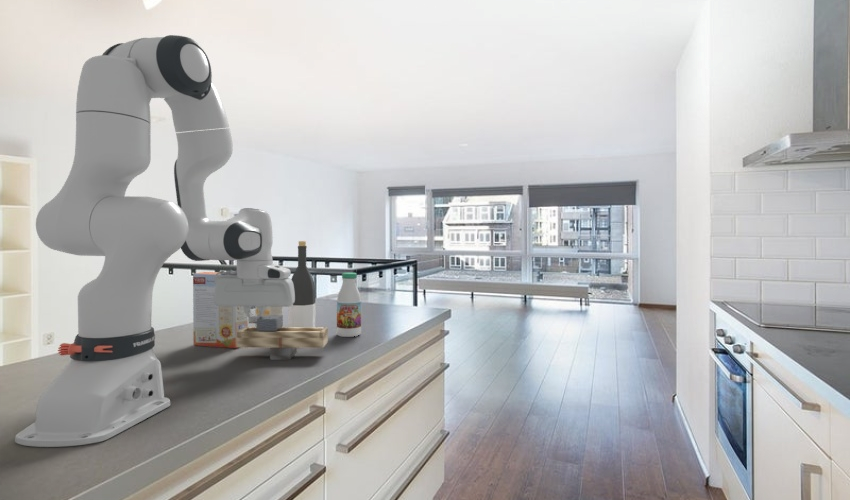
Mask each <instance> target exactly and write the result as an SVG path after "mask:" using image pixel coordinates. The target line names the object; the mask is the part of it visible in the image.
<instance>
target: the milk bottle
mask: <svg viewBox="0 0 850 500" xmlns="http://www.w3.org/2000/svg"><path fill="white" fill-rule="evenodd" d="M357 275H358V274H357V272H342V274H341V280H342V283H341V284H342V285H341V287H340V289H339V292H338V294H337V300H336V335H337V336H338V337H340V338H341V337H342V338H353V337H354V336H355V337H358V335H359V336H361V335H362V298H361V297H362V296H361V293H360V291H359V288H358V286H357V278H358V277H357Z"/></svg>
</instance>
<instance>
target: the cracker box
mask: <svg viewBox="0 0 850 500" xmlns="http://www.w3.org/2000/svg"><path fill="white" fill-rule="evenodd" d="M219 272H220V271H218V272H217V271H202V272H201V271H200V272H196V273H193V274H192V286H193V289H192V297H193V298H192V302H193V305H192V310H193V311H192V313H193V324H192V325H193V333H192V335H193V346H200V347H215V348H225V349H237V348H238V347H237V332H238V331H240V330H241V329H243V328H245V327H249V326H248V324H249V323H248V316H247V315H246V313H245V311H244V306H216V305H215V303H214V292H215V283H214V277H215V275H216V274H217V273H219ZM218 275H220V274H218Z"/></svg>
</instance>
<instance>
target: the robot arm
mask: <svg viewBox="0 0 850 500" xmlns="http://www.w3.org/2000/svg"><path fill="white" fill-rule="evenodd" d="M212 77H213V76H212V66H211V63H210V59H209V57H208V55H207V53H206V52H205V51H204V48H202V46H201V45H199V43H198V42H196V41H195V40H194V39H192V38H191V37H189V36H183V35H175V34H174V35H173V34H171V35H170V34H169V35H166V36H161V37H159V36H156V37H141V38H136V39H133V40H129V41H126V42H121V43H116V44H114V45H112V46H109V47H108V49H106V50H105V51H104V52H103V53H102V54H101V55H96V56H92V57H90V58H88V59H87V60H86V61H85V62H84V64H83V66H82V68H81V72H80V75H79V81H78V86H77V92H76V93H77V94H76V103H75V105H76V106H75V146H74V155H73V156H74V157H73V162H72V166H71V168H70V171H69V173H68V176H67V178H66V179H65V182H64V184H63V186H62V187H61V189H60V190H59V191H58V193H57V194H56V195H55V196H54V197H53V198H52V199H51V200H49V201H48V202H47V203H45V204H44V205H43V206H42V207H40V209H39V211H38V213H37V215H36V218H35V230H36V233H37V236H38V238H39V239H40V241H41V243H42V244H44V245H45V246H46V247H47V248H49V249H51V250H53V251H58V252H61V253H64V254H65V253H66V254H69V255H74V256H80V257H83V256H84V257H85V256H86V257H92V256H93V257H104V263H103V265H102V269H101V271H100V273H98V276H97V277H96V278H94V279H92V280H91V281H89V282H87V283H86V284H84V285H83V286H82V287H81V288H80V290H79V292H78V294H77V328H78V329H77V333H78V334H76V336H75V337H74V340H73V341H74V342H72V343H68V342H67V343H66V342H63V343H60V344H59V346H58V347H57V348H58V350H57V352H58V353H57V354H59V356H69V358H70V360H69V362H68V363H67V365H66V366H65V367H64V368H63V370H61V372H60V373H59V374H58V375H57V376H56V377H55V379H54V380H53V381H52V382H51V383H50V385H49V386H48V387H47V388H46V390H44V392H43V393H41V395H40V396H39V398H38V400H37V404H36V412H35V421H34V422H32V423H31V424H30V425H28V426H26V427H25V428H24V429H22V430H21V431H19V432H18V433H17V434H16V435H15V438H14V442H15V443H16V444H18V445H21V446H28V447H37V448H38V447H39V448H43V447H44V448H49V447H50V448H52V447H53V448H55V447H73V446H82V445H89V444H90V445H91V444H96V443H101V442H103V441H107V440H109V439H110V438H113V437H115V436H116V435H118V434H120V433H122V432H124V431H126V430H128V429H129V428H131V427H133V426H134V425H135V426H136V425H137V424H138V423H140V422H143V421H144V420H146V419H147V418H150V417H152V416H154V415H156V414H157V413H159V412H161V411H163V410H165V409H167V408H169V407H170V406H171V400H170V398H169V397H165V390H164V382H163V381H164V380H163V373H162V364H161V362H160V360H159V359H158V358H157V356H156V355H155V352H154V347H155V344H156V343H155V339H156V334H155V329H154V327H152V310H153V309H152V308H153V291H154V287H155V282H156V279H157V277H158V275H159V272H160V270H161V268H162V267H163V265H164V264H165V262H166V261H167V260H168V258H170V257H171V256H172V255H173V254H175V253H176V252H178V251H180V250H181V251H182V253H183V255H184V256H186V257H187V258H188V259H189V260H192V261H194V262H202V261H203V262H204V261H236V270H220V271H218V272H219V273H217V274H216V275H215V277H214V283H215V292H214V303H215V305H216V306H244V311H245V313H246V315H247V322H248V324H255V323H257V319H258V318H260V317H262V315H263V313H264V311H265V310H266V307H282V308H285V307H289V306H291V305H292V304H293V303H294V302H295V291H294V285H293V282H292V280H291V279H292V278H290V276H291V273H292V271H291V269H290V268H288V267H284V266H281V265H278V264H276V263H275V264H274V263H273V262H274V261H273V256H272V247H273V238H274V237H273V224H272V220H271V216H270V214H269V212H267V211H265V210H263V209H258V208H251V207H250V208H249V207H247V208H246V207H245V208H241V209H240V210H239V211H238V213H237V214H236V215H235V216H232V217H230V218H228V219H226V220H221V221H220V220H210V219H209V218H208V216H207V209H206V203H205V202H206V199H205V192H204V191H205V190H204V186H205V182H206V180H207V178H208V177H209V176H210V175H212V174H214V173H215V172H216V171H218V170H220V169H221V168H222V167H224V166H225V165H226V164H227V163H228V162H229V160H230V158H231V157H232V155H233V150H234V149H233V146H234V145H233V138H232V134H231V129H230V125H229V120H228V118H227V114H226V111H225V108H224V104H223V101H222V99H221V96H220V94H219V92H218V90H217V88H216V87H215V85H214V84H213V83H212V79H213V78H212ZM152 99H163V101H164V102H166V104H167V106H168V107H169V109H170V111H171V117H172V122H173V127H174V132H175V135H176V140H177V157H176V160H175V162H174V166H173V176H174V179H173V180H174V185H175V193H176V194H175V195H176V202H177V203H176V202H173V201H170V200H165V199H162V198H161V199H160V198H155V197H152V196H151V197H150V196H129V195H128V196H125V195H126V192H127V189H128V187H129V185H130V183H131V182H132V181H133V179H135V178H137V177H138V176H139V175H141V174H143V173H144V172H146V170H147V169H148V168H149V166H150V164H151V147H152V146H151V123H152V122H151V107H150V103H151V101H152ZM218 274H220V275H218ZM255 306H258V311H260V312H259V314H258V316H255V315H254V314H253V313H252V311H251V310H253V307H255Z"/></svg>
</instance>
